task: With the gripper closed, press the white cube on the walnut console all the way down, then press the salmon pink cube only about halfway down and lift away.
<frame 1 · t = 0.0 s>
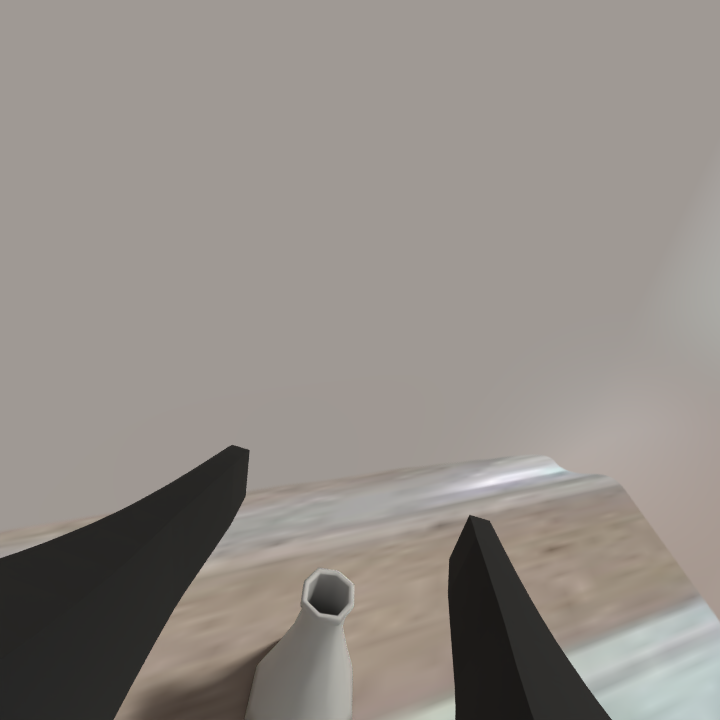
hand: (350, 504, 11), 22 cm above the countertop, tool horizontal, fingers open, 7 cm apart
flask: (301, 696, 24), on the countertop
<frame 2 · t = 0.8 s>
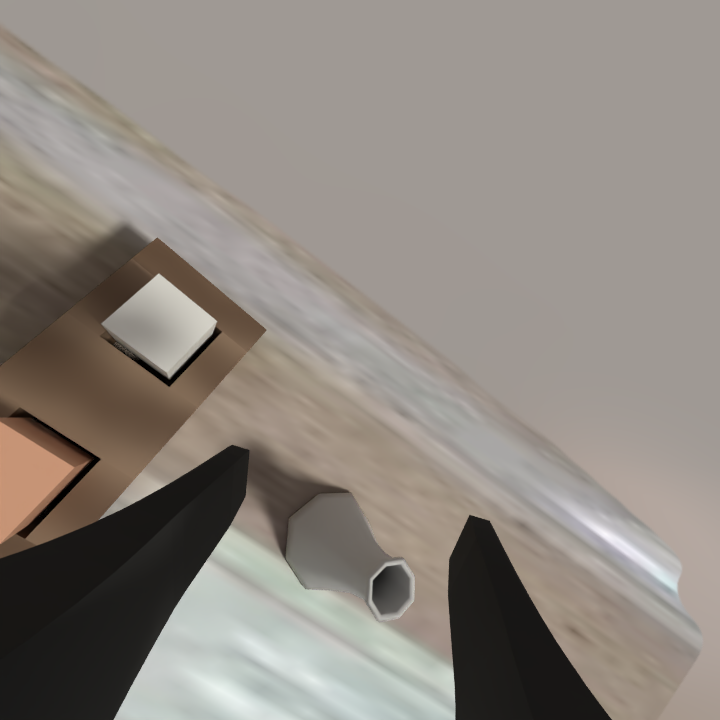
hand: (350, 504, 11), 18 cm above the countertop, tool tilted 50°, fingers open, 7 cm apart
walnut console: (111, 399, 24), on the countertop
white cube: (164, 331, 22), point 4 cm above the countertop, slide at 0.0 cm
flask: (327, 536, 29), on the countertop
salmon pink cube: (16, 473, 18), point 4 cm above the countertop, slide at 0.0 cm
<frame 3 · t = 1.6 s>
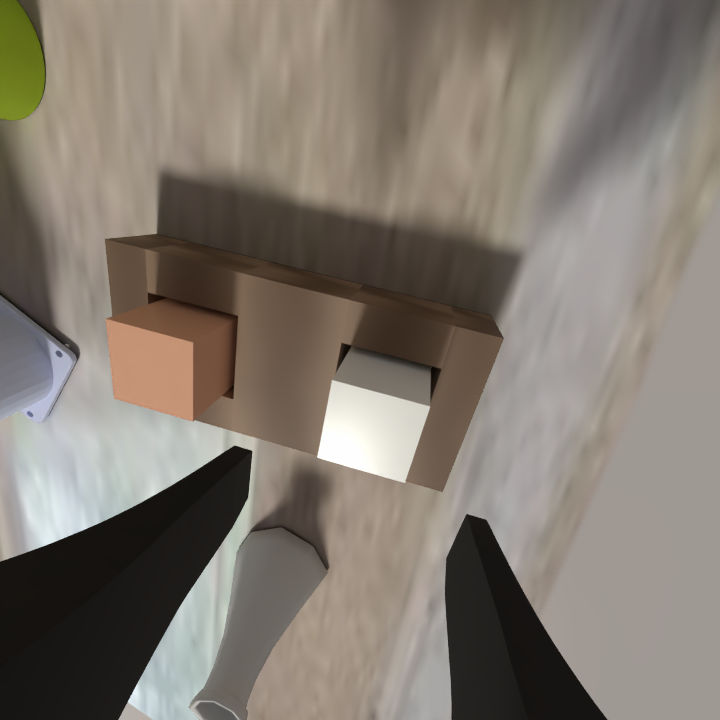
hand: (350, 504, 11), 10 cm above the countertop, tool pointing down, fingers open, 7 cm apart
walnut console: (305, 348, 21), on the countertop
white cube: (377, 406, 17), point 4 cm above the countertop, slide at 0.0 cm
flask: (283, 556, 29), on the countertop
salmon pink cube: (183, 353, 18), point 4 cm above the countertop, slide at 0.0 cm
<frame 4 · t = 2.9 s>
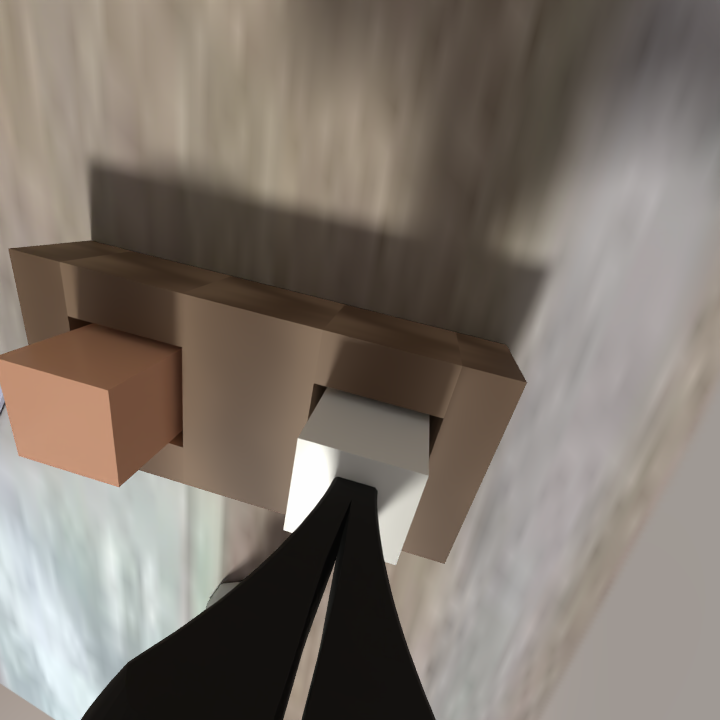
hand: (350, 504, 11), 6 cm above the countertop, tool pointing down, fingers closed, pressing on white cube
walnut console: (277, 379, 17), on the countertop
white cube: (362, 460, 13), point 4 cm above the countertop, slide at 0.3 cm, touching gripper
salmon pink cube: (113, 394, 14), point 4 cm above the countertop, slide at 0.0 cm
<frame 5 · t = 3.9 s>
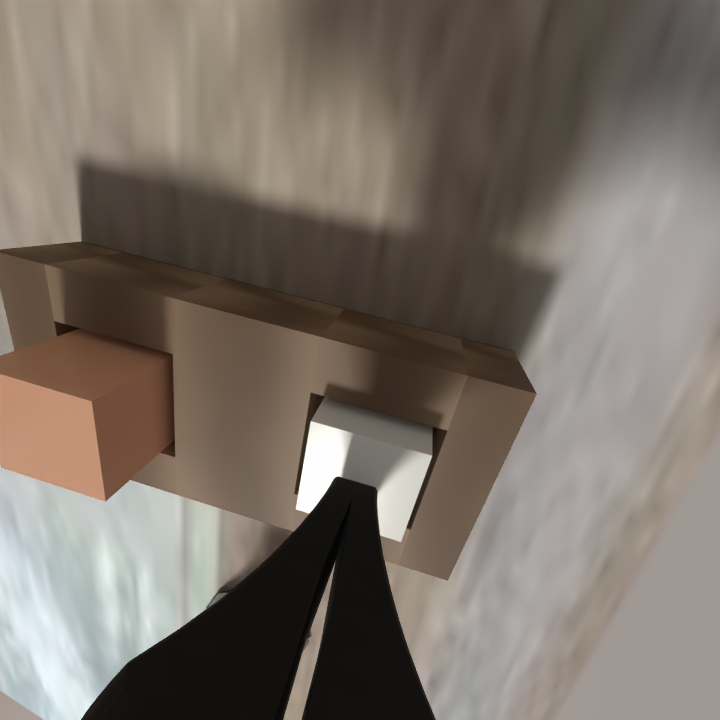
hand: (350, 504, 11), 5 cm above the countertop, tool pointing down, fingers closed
walnut console: (274, 386, 17), on the countertop
white cube: (369, 445, 14), point 2 cm above the countertop, slide at 2.0 cm
salmon pink cube: (102, 402, 13), point 4 cm above the countertop, slide at 0.0 cm
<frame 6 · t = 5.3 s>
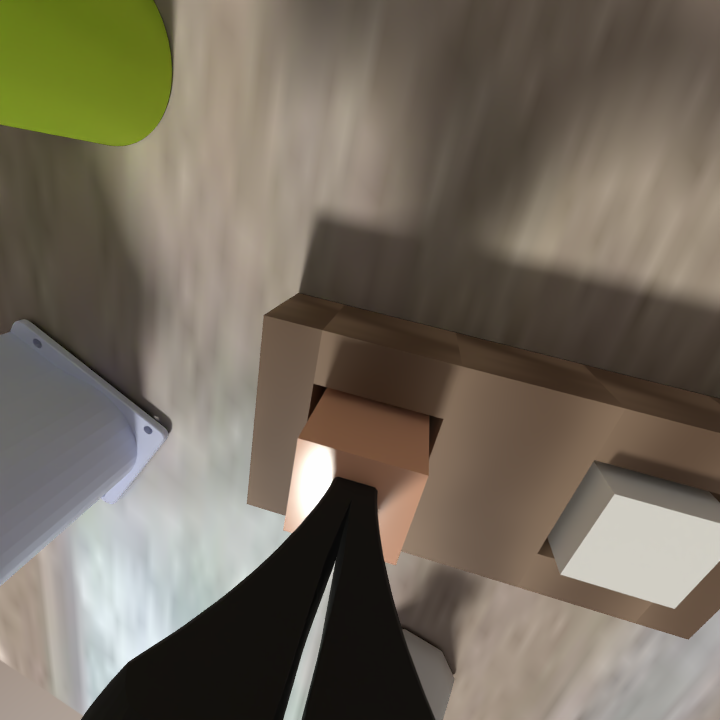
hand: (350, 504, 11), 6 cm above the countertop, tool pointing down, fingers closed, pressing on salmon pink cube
walnut console: (481, 436, 17), on the countertop
white cube: (615, 504, 14), point 2 cm above the countertop, slide at 2.0 cm
flask: (397, 655, 25), on the countertop
salmon pink cube: (362, 460, 13), point 4 cm above the countertop, slide at 0.3 cm, touching gripper
soap dispenser: (94, 43, 13), on the countertop
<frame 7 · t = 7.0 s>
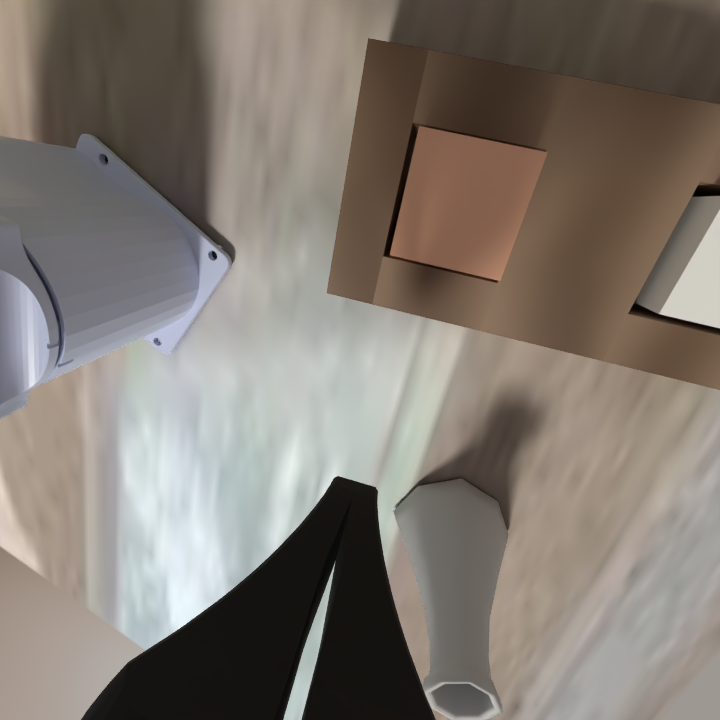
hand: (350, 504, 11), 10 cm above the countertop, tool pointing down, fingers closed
walnut console: (558, 230, 17), on the countertop
white cube: (705, 262, 14), point 2 cm above the countertop, slide at 2.0 cm
flask: (449, 516, 25), on the countertop
salmon pink cube: (457, 207, 14), point 3 cm above the countertop, slide at 0.9 cm
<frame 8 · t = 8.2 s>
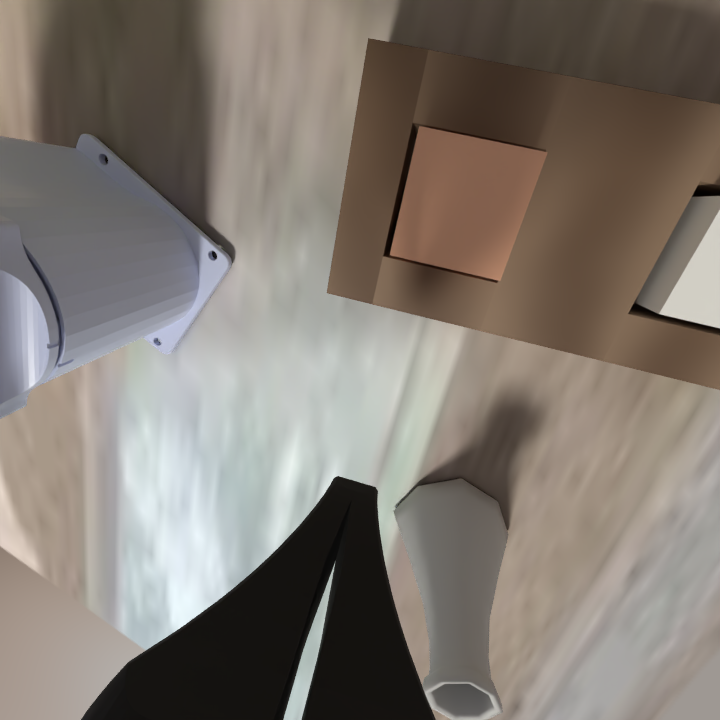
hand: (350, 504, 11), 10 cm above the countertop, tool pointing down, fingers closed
walnut console: (558, 230, 17), on the countertop
white cube: (705, 262, 14), point 2 cm above the countertop, slide at 2.0 cm
flask: (449, 516, 25), on the countertop
salmon pink cube: (457, 207, 14), point 3 cm above the countertop, slide at 0.9 cm
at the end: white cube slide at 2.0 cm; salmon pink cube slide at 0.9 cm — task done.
